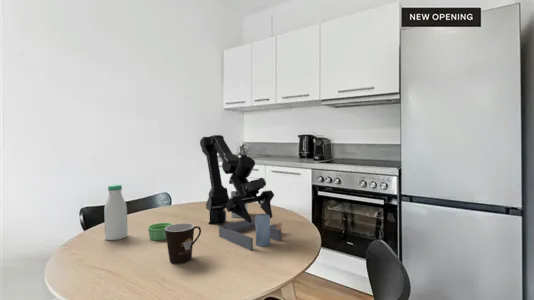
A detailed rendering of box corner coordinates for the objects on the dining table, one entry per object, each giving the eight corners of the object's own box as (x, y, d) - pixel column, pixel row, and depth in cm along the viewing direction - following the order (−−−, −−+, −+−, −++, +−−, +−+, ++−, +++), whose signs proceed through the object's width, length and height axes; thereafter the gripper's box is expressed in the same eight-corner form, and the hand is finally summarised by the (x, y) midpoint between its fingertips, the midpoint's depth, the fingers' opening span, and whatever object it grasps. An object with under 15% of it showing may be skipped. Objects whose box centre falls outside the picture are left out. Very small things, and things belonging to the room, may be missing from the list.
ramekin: (143, 237, 110) (143, 226, 110) (166, 232, 117) (165, 221, 117) (155, 243, 104) (154, 230, 104) (177, 236, 111) (177, 225, 111)
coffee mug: (168, 268, 83) (167, 233, 83) (163, 257, 90) (162, 225, 90) (208, 259, 88) (207, 227, 88) (200, 250, 96) (200, 220, 96)
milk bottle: (132, 235, 113) (130, 184, 112) (114, 241, 106) (112, 187, 105) (118, 233, 116) (117, 183, 115) (100, 239, 109) (98, 186, 108)
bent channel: (251, 250, 95) (250, 238, 95) (219, 236, 110) (218, 225, 110) (293, 236, 108) (293, 226, 108) (259, 225, 123) (259, 216, 123)
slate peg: (255, 246, 98) (254, 217, 98) (256, 241, 103) (256, 213, 103) (269, 246, 98) (269, 217, 98) (270, 241, 103) (270, 213, 103)
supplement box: (246, 217, 137) (246, 190, 136) (231, 217, 137) (230, 191, 137) (248, 213, 144) (247, 188, 144) (233, 213, 144) (232, 188, 144)
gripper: (229, 173, 99) (249, 210, 90) (270, 169, 111) (291, 201, 102) (217, 193, 105) (236, 230, 96) (258, 187, 117) (277, 219, 109)
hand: (261, 219), depth 101 cm, fingers open, 9 cm apart
